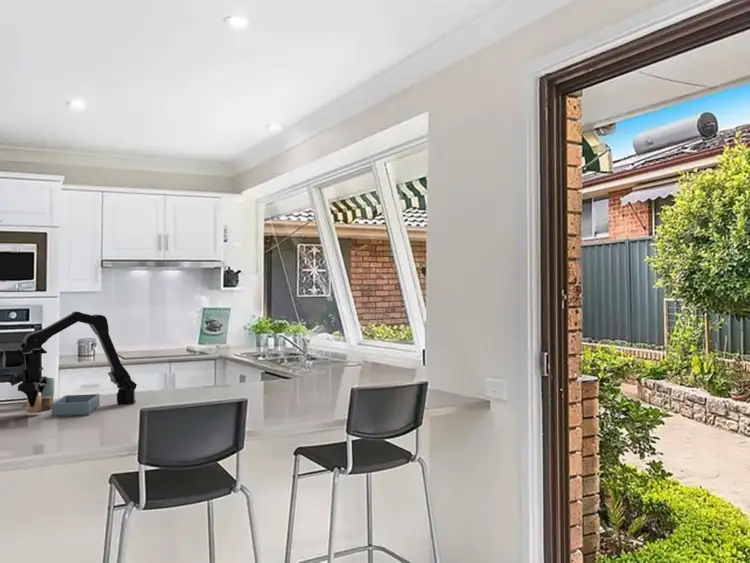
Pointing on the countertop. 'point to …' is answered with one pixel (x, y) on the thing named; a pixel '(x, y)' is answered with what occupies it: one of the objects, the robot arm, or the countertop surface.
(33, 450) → the countertop surface
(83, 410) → the slate tote
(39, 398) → the terracotta cylinder
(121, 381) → the robot arm
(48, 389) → the cup
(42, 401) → the walnut cube
